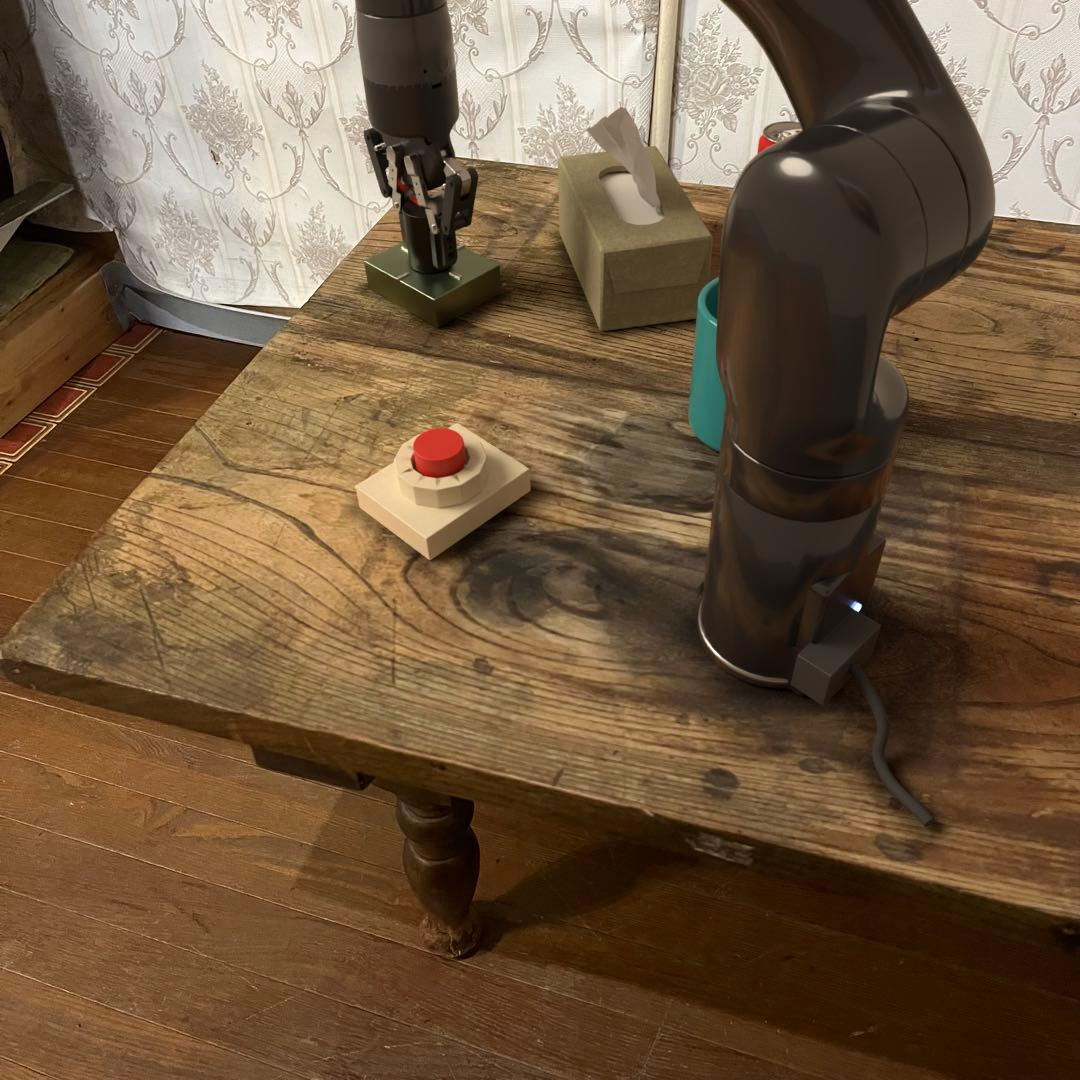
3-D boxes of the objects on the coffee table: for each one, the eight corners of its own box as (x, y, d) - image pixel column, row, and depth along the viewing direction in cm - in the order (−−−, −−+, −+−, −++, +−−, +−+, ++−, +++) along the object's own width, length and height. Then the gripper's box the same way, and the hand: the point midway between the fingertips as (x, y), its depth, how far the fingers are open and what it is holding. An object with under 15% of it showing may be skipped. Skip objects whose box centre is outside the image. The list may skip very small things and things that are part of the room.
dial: (461, 262, 95) (456, 203, 91) (426, 278, 93) (419, 218, 89) (435, 246, 97) (428, 188, 93) (400, 261, 96) (392, 203, 91)
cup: (702, 491, 77) (715, 366, 69) (679, 393, 85) (689, 271, 77) (823, 484, 77) (851, 359, 69) (788, 387, 85) (809, 265, 77)
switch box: (531, 490, 77) (529, 449, 74) (429, 561, 72) (423, 520, 70) (459, 444, 81) (455, 403, 79) (359, 507, 77) (350, 466, 74)
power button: (476, 461, 74) (474, 442, 73) (438, 486, 73) (435, 467, 71) (443, 439, 76) (440, 421, 75) (405, 463, 74) (402, 444, 73)
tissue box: (558, 232, 105) (555, 71, 93) (652, 220, 106) (659, 60, 95) (601, 334, 91) (603, 162, 80) (707, 320, 93) (724, 148, 81)
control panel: (502, 292, 97) (500, 262, 95) (436, 329, 93) (433, 298, 91) (432, 256, 102) (429, 226, 100) (367, 289, 98) (362, 259, 96)
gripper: (320, 52, 85) (353, 242, 97) (422, 102, 77) (444, 302, 89) (395, 28, 88) (418, 215, 100) (500, 74, 80) (511, 271, 93)
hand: (430, 255), depth 95 cm, fingers closed on dial, 4 cm apart
